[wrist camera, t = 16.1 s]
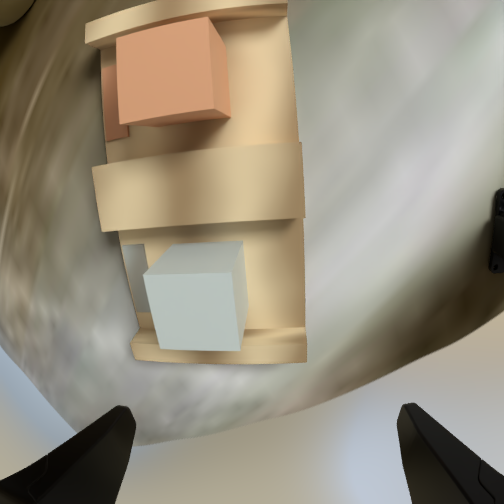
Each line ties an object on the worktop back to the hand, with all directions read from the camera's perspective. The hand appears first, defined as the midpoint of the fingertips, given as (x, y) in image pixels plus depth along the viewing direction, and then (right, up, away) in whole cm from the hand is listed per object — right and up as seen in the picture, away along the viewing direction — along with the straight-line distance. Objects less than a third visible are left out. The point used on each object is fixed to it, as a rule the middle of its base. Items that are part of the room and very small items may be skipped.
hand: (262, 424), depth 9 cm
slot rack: (-3, +10, +11) cm, 15 cm away
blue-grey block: (-3, +4, +12) cm, 13 cm away
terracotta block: (-4, +15, +8) cm, 17 cm away
